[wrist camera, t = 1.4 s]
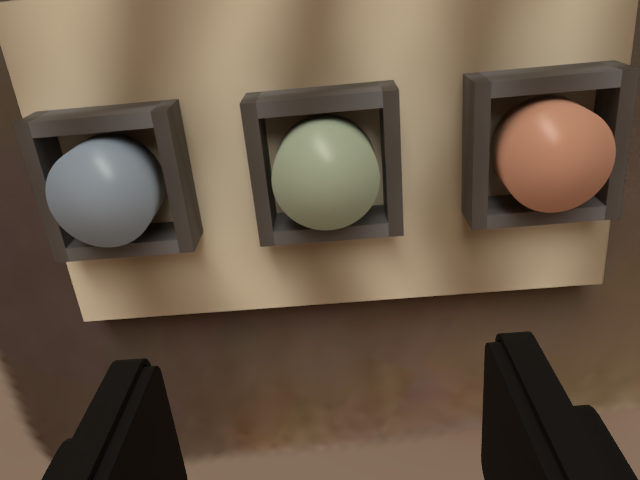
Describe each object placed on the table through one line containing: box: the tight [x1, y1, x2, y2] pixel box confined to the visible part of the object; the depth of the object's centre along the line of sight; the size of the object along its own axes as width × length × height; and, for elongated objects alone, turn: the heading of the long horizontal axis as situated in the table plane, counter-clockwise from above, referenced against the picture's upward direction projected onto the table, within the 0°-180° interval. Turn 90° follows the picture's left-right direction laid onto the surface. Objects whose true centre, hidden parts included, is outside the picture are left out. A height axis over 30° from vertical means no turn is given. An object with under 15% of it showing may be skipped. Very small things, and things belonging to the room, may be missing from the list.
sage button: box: [271, 114, 380, 230], centre depth 23 cm, size 4×4×2 cm
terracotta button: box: [490, 95, 616, 213], centre depth 23 cm, size 4×4×2 cm
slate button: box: [45, 133, 166, 247], centre depth 23 cm, size 4×4×2 cm
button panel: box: [0, 0, 640, 322], centre depth 25 cm, size 24×14×4 cm, turn 95°
